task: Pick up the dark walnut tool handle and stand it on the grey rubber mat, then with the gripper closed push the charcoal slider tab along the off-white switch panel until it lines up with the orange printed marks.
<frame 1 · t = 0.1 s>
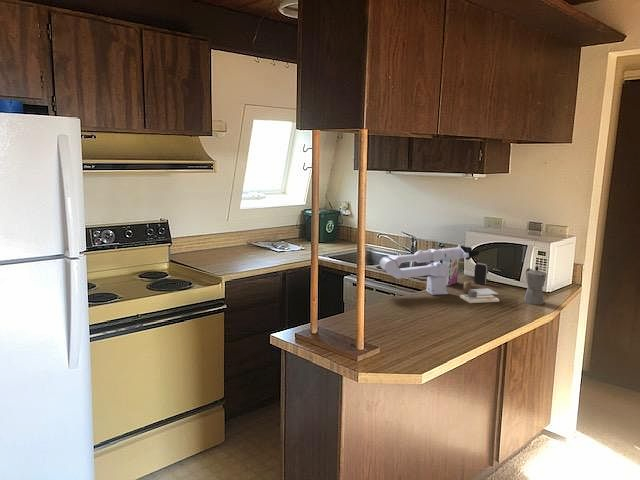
hand: (474, 251, 272), 22 cm above the countertop, tool horizontal, fingers open, 7 cm apart
coffeepot: (532, 302, 258), on the countertop
switch tab: (472, 294, 259), point 3 cm above the countertop, slide at 0.0 cm
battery: (480, 283, 292), on the countertop
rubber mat: (484, 292, 273), on the countertop
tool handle: (466, 293, 271), on the countertop
candy bar box: (449, 284, 290), on the countertop
switch panel: (479, 299, 260), on the countertop
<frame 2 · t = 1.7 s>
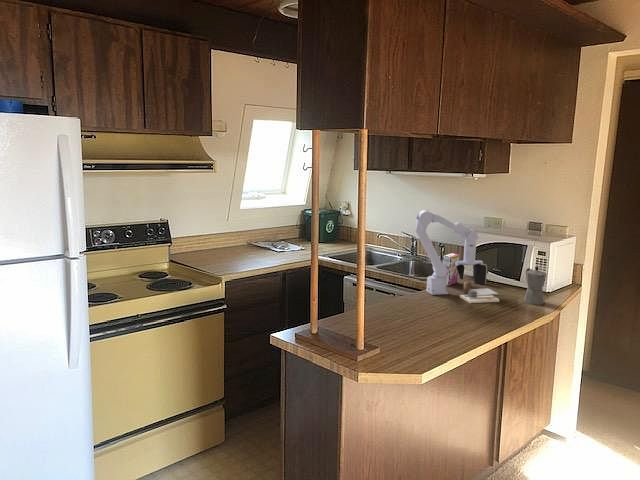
hand: (467, 278, 269), 8 cm above the countertop, tool pointing down, fingers open, 7 cm apart
nothing on the countertop moved.
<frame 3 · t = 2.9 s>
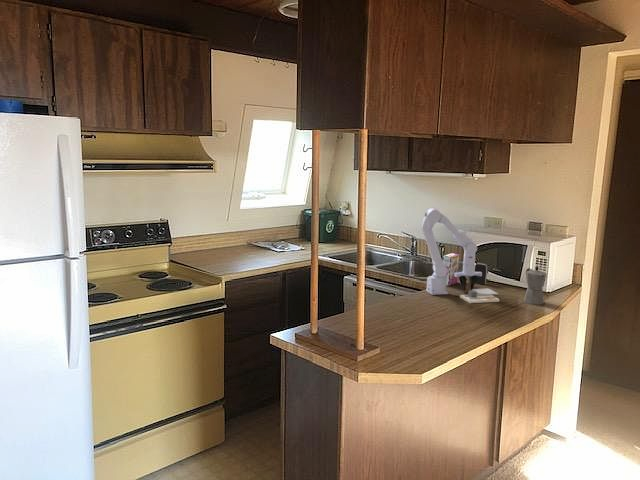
hand: (467, 289, 270), 2 cm above the countertop, tool pointing down, fingers closed on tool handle, 4 cm apart
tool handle: (466, 293, 271), on the countertop, touching gripper
everything else where it was.
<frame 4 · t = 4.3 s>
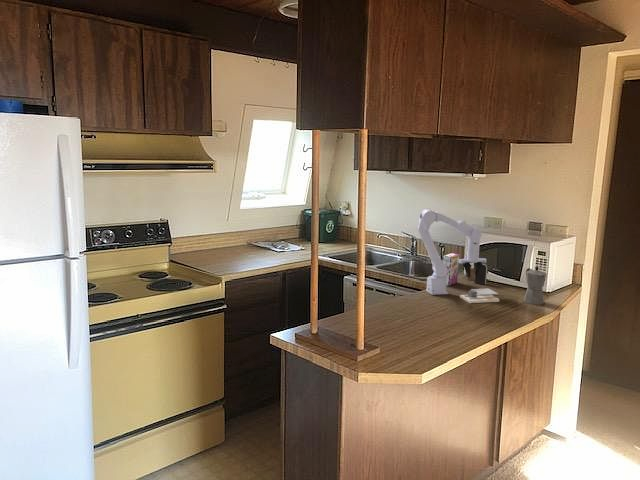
hand: (471, 276, 269), 9 cm above the countertop, tool pointing down, fingers closed on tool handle, 4 cm apart
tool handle: (471, 280, 270), point 7 cm above the countertop, touching gripper
everything else where it was.
when the fingers open (4 cm above the countertop, at t = 6.0 s): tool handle drops 1 cm, resting on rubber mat.
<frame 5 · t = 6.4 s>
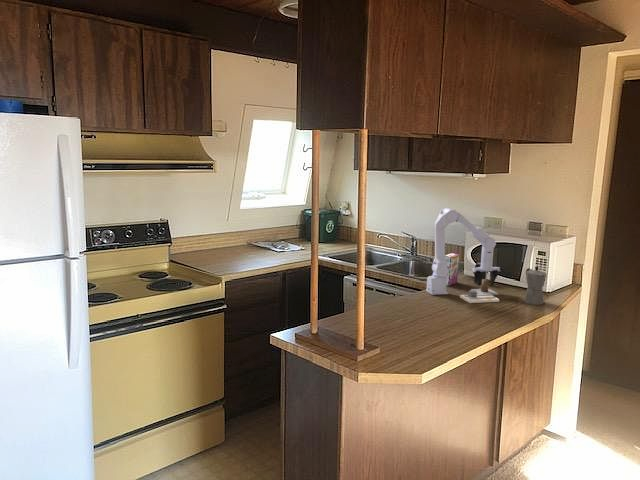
hand: (484, 284, 272), 4 cm above the countertop, tool pointing down, fingers open, 7 cm apart
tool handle: (484, 291, 273), point 1 cm above the countertop, touching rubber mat
everything else where it was.
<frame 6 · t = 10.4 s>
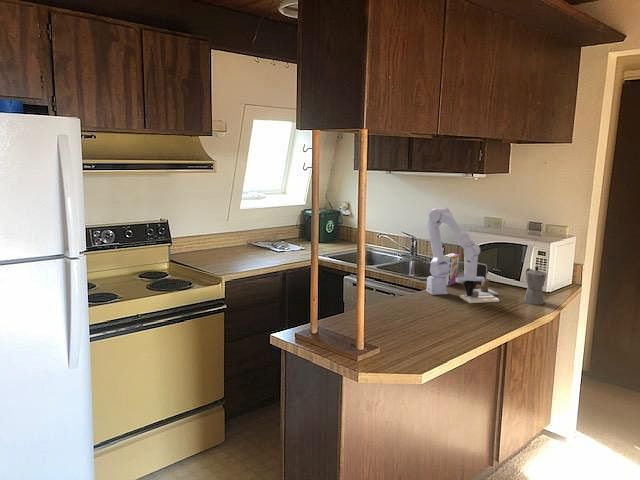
hand: (468, 295, 259), 2 cm above the countertop, tool pointing down, fingers closed
switch tab: (474, 294, 259), point 3 cm above the countertop, slide at 0.9 cm, touching gripper
everything else where it was.
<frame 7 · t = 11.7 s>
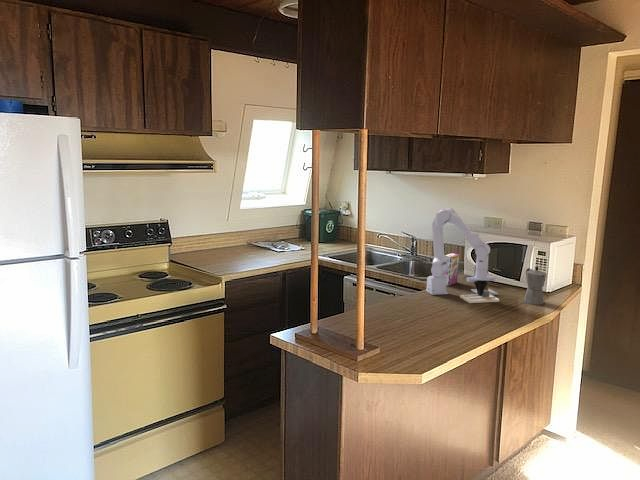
hand: (479, 295, 260), 2 cm above the countertop, tool pointing down, fingers closed
switch tab: (484, 293, 260), point 3 cm above the countertop, slide at 6.8 cm, touching gripper
everything else where it was.
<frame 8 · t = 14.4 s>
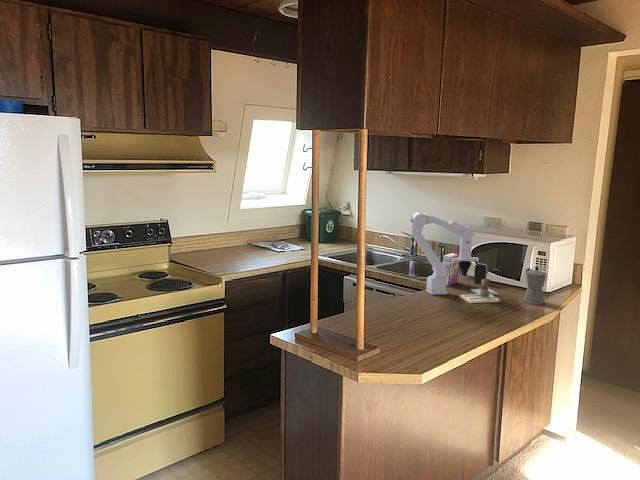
hand: (464, 275, 269), 9 cm above the countertop, tool pointing down, fingers closed
switch tab: (484, 293, 260), point 3 cm above the countertop, slide at 6.8 cm
everything else where it was.
at the end: switch tab slide at 6.8 cm; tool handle 0.1 cm off-centre on the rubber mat, point 0.8 cm above the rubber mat's base; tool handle tilted 1° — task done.
